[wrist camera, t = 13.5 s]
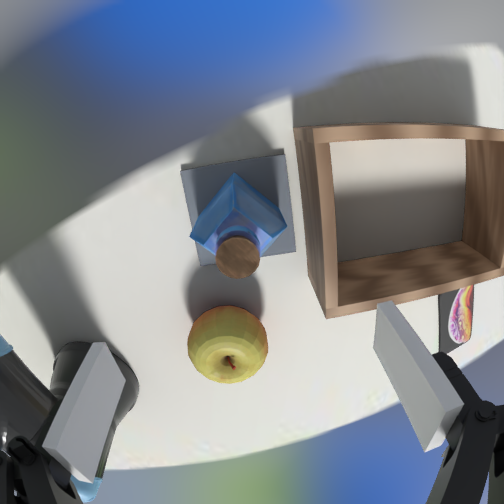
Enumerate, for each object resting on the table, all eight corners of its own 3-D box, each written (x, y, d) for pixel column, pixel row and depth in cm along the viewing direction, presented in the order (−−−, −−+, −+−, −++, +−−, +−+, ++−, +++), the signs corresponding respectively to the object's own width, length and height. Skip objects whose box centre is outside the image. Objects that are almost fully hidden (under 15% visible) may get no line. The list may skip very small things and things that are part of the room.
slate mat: (201, 263, 36) (200, 265, 35) (181, 170, 31) (180, 171, 31) (295, 249, 35) (296, 251, 35) (284, 154, 31) (285, 154, 31)
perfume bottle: (198, 216, 33) (177, 264, 22) (234, 172, 31) (230, 198, 20) (242, 250, 35) (244, 310, 24) (279, 208, 33) (299, 252, 22)
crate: (308, 276, 37) (326, 319, 29) (293, 127, 30) (312, 128, 22) (466, 247, 36) (504, 275, 28) (470, 125, 29) (518, 132, 21)
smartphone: (474, 273, 38) (471, 339, 43) (471, 270, 38) (469, 337, 44) (439, 293, 38) (439, 358, 44) (436, 290, 39) (437, 355, 45)
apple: (277, 340, 41) (283, 382, 33) (213, 362, 42) (210, 404, 35) (246, 283, 37) (248, 322, 30) (177, 310, 38) (165, 351, 31)
